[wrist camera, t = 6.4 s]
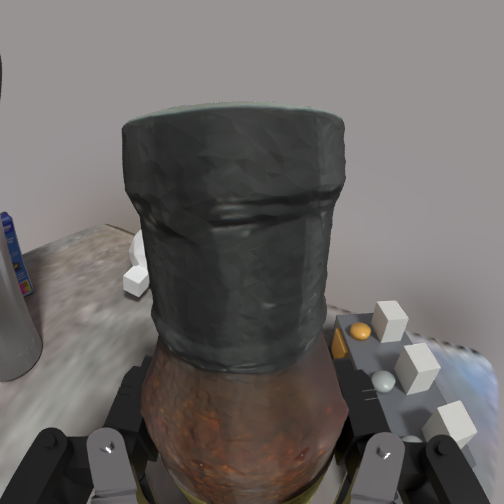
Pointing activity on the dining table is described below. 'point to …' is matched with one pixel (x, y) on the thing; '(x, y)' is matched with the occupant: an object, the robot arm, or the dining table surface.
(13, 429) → the dining table surface
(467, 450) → the breaker bank
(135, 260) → the faceted ball with stub
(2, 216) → the ink cartridge box
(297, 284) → the sauce bottle
